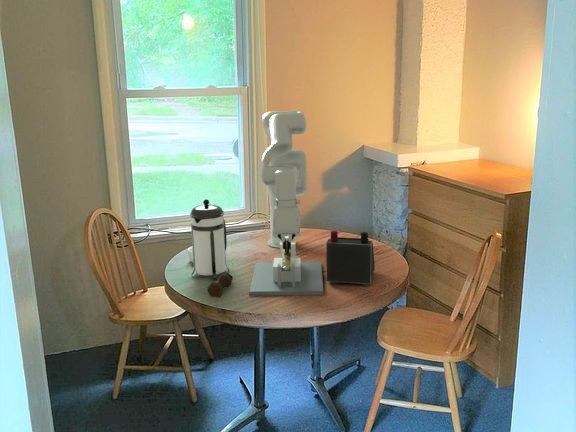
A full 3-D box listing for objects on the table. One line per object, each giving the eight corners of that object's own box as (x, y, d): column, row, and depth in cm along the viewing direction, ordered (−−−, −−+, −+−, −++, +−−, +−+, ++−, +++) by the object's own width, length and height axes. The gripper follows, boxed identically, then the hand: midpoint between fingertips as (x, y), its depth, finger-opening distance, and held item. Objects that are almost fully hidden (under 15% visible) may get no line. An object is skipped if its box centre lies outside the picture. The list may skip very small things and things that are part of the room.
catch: (280, 263, 234) (280, 236, 231) (295, 263, 234) (295, 235, 231) (280, 268, 227) (279, 240, 225) (295, 268, 227) (295, 240, 224)
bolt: (231, 286, 220) (216, 301, 206) (220, 279, 221) (205, 293, 206) (238, 274, 218) (224, 288, 204) (227, 267, 219) (212, 280, 205)
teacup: (205, 264, 240) (204, 251, 239) (186, 264, 240) (186, 251, 239) (209, 256, 250) (208, 244, 248) (191, 256, 250) (190, 244, 249)
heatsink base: (256, 265, 236) (255, 243, 234) (320, 265, 236) (320, 242, 233) (249, 295, 206) (248, 270, 204) (323, 294, 206) (323, 269, 203)
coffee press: (236, 278, 223) (232, 201, 216) (194, 283, 219) (188, 205, 211) (227, 264, 239) (223, 192, 232) (188, 268, 235) (183, 195, 227)
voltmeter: (374, 272, 227) (375, 222, 222) (370, 287, 211) (371, 234, 206) (333, 269, 230) (333, 220, 225) (326, 284, 215) (326, 232, 210)
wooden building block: (283, 272, 222) (283, 244, 224) (291, 272, 222) (291, 244, 224) (281, 271, 208) (281, 241, 209) (290, 270, 208) (290, 240, 209)
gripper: (306, 200, 217) (307, 248, 222) (266, 201, 218) (267, 248, 222) (306, 205, 210) (307, 254, 214) (264, 205, 210) (266, 254, 215)
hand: (287, 251), depth 218 cm, fingers closed
